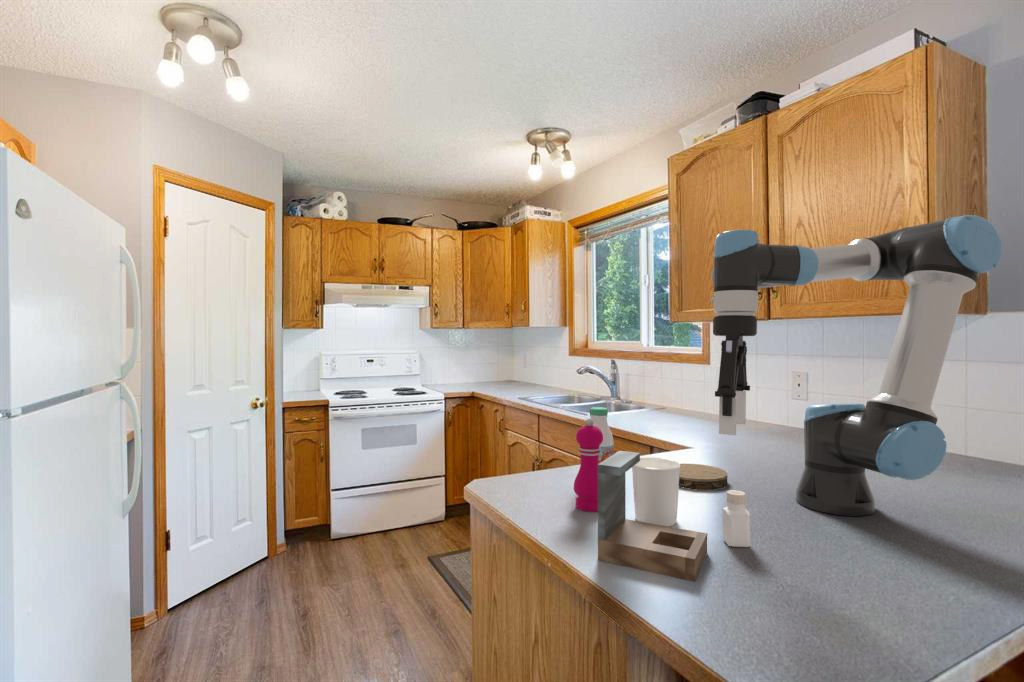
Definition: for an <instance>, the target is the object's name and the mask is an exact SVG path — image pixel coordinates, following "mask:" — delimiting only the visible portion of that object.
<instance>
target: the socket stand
mask: <svg viewBox="0 0 1024 682" xmlns="http://www.w3.org/2000/svg"><path fill="white" fill-rule="evenodd" d="M640 458H641V452H634V451H624V450H618V451H616V452H614V454H613V455H612V456H610V457H609V458H607V459H605V460H604V461H602V462H601V463H599V464H598V511H597V560H598V561H600V562H606V563H611V564H615V565H619V566H625V567H628V568H633V569H637V570H642V571H646V572H651V573H655V574H660V575H664V576H665V575H666V576H669V577H673V578H678V579H682V580H687V581H692V582H696V580H697V578H698V576H699V573H700V571H701V568H702V566H703V563H704V562H705V559H706V557H707V555H706V554H708V533H706V532H701V531H696V530H691V529H690V530H689V529H684V528H678V527H672V526H669V527H668V526H662V525H656V524H651V523H645V522H639V521H637V520H634V519H628V518H626V472H628V471H629V470H630V469H632V467H633V466H634V465H635V464H637V463H638V462H639V461H640ZM703 561H704V562H703Z"/></svg>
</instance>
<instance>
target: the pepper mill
mask: <svg viewBox="0 0 1024 682" xmlns="http://www.w3.org/2000/svg"><path fill="white" fill-rule="evenodd" d="M593 423H594V422H593V420H592V419H591V418H586V420H585V425H582V426H581V427H579V429H578V430H577V431H576V435H575V440H576V442H577V444H578V445H579V446H578V448H577V449H578V454H579V455H580V456H579V457H580V465H579V470H578V472H577V474H576V476H575V479H574V482H573V491H574V493H575V494H576V495H577V497H576V498H575V507H576V509H578V510H580V511H583V512H591V513H592V512H593V513H594V512H598V464H599V461H598V459H599V455H600V454H601V452H600V450H601V448H600V447H599V446H600V444H601V443H602V441H603V434H602V431H601V430H600V429H599V428H598V427H596V426H593Z"/></svg>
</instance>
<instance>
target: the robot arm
mask: <svg viewBox="0 0 1024 682" xmlns="http://www.w3.org/2000/svg"><path fill="white" fill-rule="evenodd" d="M1002 254H1003V244H1002V241H1001V237H1000V234H999V233H998V231H997V229H996V227H995V226H994V225H993V223H991V222H990V221H989V220H988V219H986V218H985V217H982V216H979V215H976V214H975V215H974V214H966V215H961V216H960V215H959V216H951V217H948V218H946V219H942V220H936V221H930V222H927V223H923V224H918V225H913V226H907V227H902V228H899V229H895V230H892V231H889V232H885V233H882V234H878V235H874V236H869V237H865V238H857V239H855V240H853V241H851V242H850V243H849V244H840V245H830V246H821V247H812V248H810V247H807V246H801V245H797V244H793V245H790V244H789V245H785V244H766V243H765V244H764V243H761V242H760V240H759V234H758V232H757V231H756V230H752V229H732V230H727V231H722V232H721V233H718V235H716V237H715V241H714V248H713V258H712V259H713V268H712V271H711V278H712V279H711V281H712V282H713V296H714V297H711V298H710V300H709V301H710V303H713V314H716V315H714V317H713V319H712V334H713V336H716V337H717V336H718V337H719V336H720V337H725V340H722V341H721V343H720V346H721V350H720V351H721V355H720V364H719V365H720V366H719V375H718V376H719V377H718V385H717V386H718V387H717V390H715V391H714V397H717V398H718V397H719V402H718V403H719V405H718V406H719V407H718V415H719V416H718V435H728V436H736V435H737V425H744V426H745V425H746V421H747V420H746V416H747V414H746V412H747V411H746V410H747V408H746V407H747V406H746V405H747V392H748V391H751V385H748V381H747V379H748V378H747V377H748V376H747V351H748V346H747V342H746V340H744V337H754V336H756V335H757V332H758V317H757V316H756V315H755V314H757V312H758V307H759V306H758V305H759V303H758V300H759V296H758V295H759V291H758V290H759V289H764V288H773V287H782V286H783V287H784V286H788V287H795V286H796V287H797V286H805V285H808V284H810V283H818V282H825V281H828V282H829V281H836V280H844V279H852V280H853V281H857V282H865V281H866V282H867V281H904V282H905V284H907V286H909V287H908V288H909V289H908V290H909V291H908V293H907V297H906V299H905V303H904V307H903V311H902V313H901V317H900V321H899V323H898V328H897V330H896V334H895V338H894V341H893V344H892V348H891V352H890V354H889V357H888V361H887V365H886V368H885V372H884V375H883V378H882V381H881V384H880V385H881V386H880V389H879V392H878V394H877V395H876V396H874V397H871V398H870V399H868V400H867V401H866V405H865V404H864V403H820V404H819V403H815V404H810V405H808V406H807V407H806V408H805V410H804V411H805V412H804V414H805V415H804V420H803V424H804V425H803V426H804V427H803V433H804V434H803V436H804V469H803V472H802V473H801V477H800V478H799V482H798V483H797V487H796V490H795V500H796V502H797V503H798V504H799V505H801V506H804V507H806V508H809V509H811V510H813V511H814V510H815V511H817V512H821V513H826V514H832V515H838V516H849V517H850V516H851V517H862V516H868V515H873V514H874V513H875V511H876V508H875V507H876V502H875V498H874V496H873V493H872V490H871V487H870V484H869V482H868V479H867V476H866V470H870V471H873V472H877V473H878V474H879V473H880V474H883V475H885V476H888V477H891V478H899V479H903V480H909V481H915V480H916V481H917V480H921V479H923V478H926V476H929V475H931V474H932V473H934V472H935V471H936V470H937V469H938V468H939V467H940V466H941V464H942V463H943V460H944V458H945V456H946V453H947V441H946V440H945V439H946V436H945V433H944V432H943V430H942V429H941V427H939V426H937V423H938V419H939V417H938V416H937V415H936V413H935V412H934V411H933V410H932V404H933V401H934V400H933V399H934V398H935V397H934V396H935V393H936V390H937V387H938V382H939V379H940V376H941V373H942V369H943V365H944V362H945V359H946V355H947V351H948V347H949V345H950V341H951V337H952V335H953V331H954V327H955V323H956V321H957V317H958V313H959V309H960V306H961V303H962V300H963V296H964V294H966V293H968V292H971V291H973V290H974V289H975V288H976V285H977V283H978V279H979V275H981V274H985V273H987V272H990V271H992V270H993V269H994V268H996V267H997V266H998V265H999V264H1000V262H1001V259H1002Z"/></svg>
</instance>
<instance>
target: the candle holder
mask: <svg viewBox="0 0 1024 682" xmlns="http://www.w3.org/2000/svg"><path fill="white" fill-rule="evenodd" d="M680 464H681V463H679V462H678V461H676V460H673V459H670V458H664V457H663V458H662V457H640V461H639V462H638V463H637V464H635V465H634V466H633V467H631V469H632V485H633V489H632V490H633V504H634V515H635V516H634V519H635V521H639V522H645V523H651V524H656V525H662V526H669V527H672V526H674V525H675V524H676V523H677V518H678V509H679V508H678V506H679V490H680V487H679V475H680Z"/></svg>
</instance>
